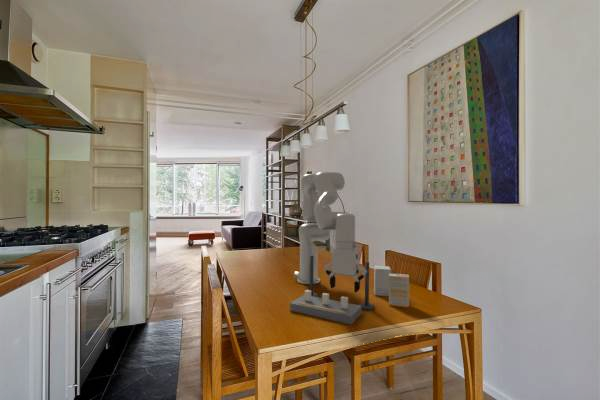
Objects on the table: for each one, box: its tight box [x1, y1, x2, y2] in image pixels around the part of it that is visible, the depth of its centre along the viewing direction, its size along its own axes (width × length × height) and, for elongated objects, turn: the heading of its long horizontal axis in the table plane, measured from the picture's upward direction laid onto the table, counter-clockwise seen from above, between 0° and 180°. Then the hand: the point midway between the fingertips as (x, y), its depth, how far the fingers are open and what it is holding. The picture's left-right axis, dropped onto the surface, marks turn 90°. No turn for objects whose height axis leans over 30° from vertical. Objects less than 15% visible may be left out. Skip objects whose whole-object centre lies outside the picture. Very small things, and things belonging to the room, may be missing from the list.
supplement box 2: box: [388, 272, 410, 309], centre depth 127 cm, size 8×5×13 cm, turn 71°
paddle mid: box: [321, 292, 330, 305], centre depth 118 cm, size 2×2×4 cm
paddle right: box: [340, 295, 349, 309], centre depth 114 cm, size 2×2×4 cm
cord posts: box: [309, 256, 375, 311], centre depth 130 cm, size 32×6×19 cm, turn 61°
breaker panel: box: [289, 294, 363, 325], centre depth 118 cm, size 26×12×3 cm, turn 61°
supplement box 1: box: [373, 265, 392, 297], centre depth 142 cm, size 7×7×13 cm
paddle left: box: [304, 289, 311, 301], centre depth 122 cm, size 2×2×4 cm
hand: (344, 289), depth 114 cm, fingers open, 9 cm apart
